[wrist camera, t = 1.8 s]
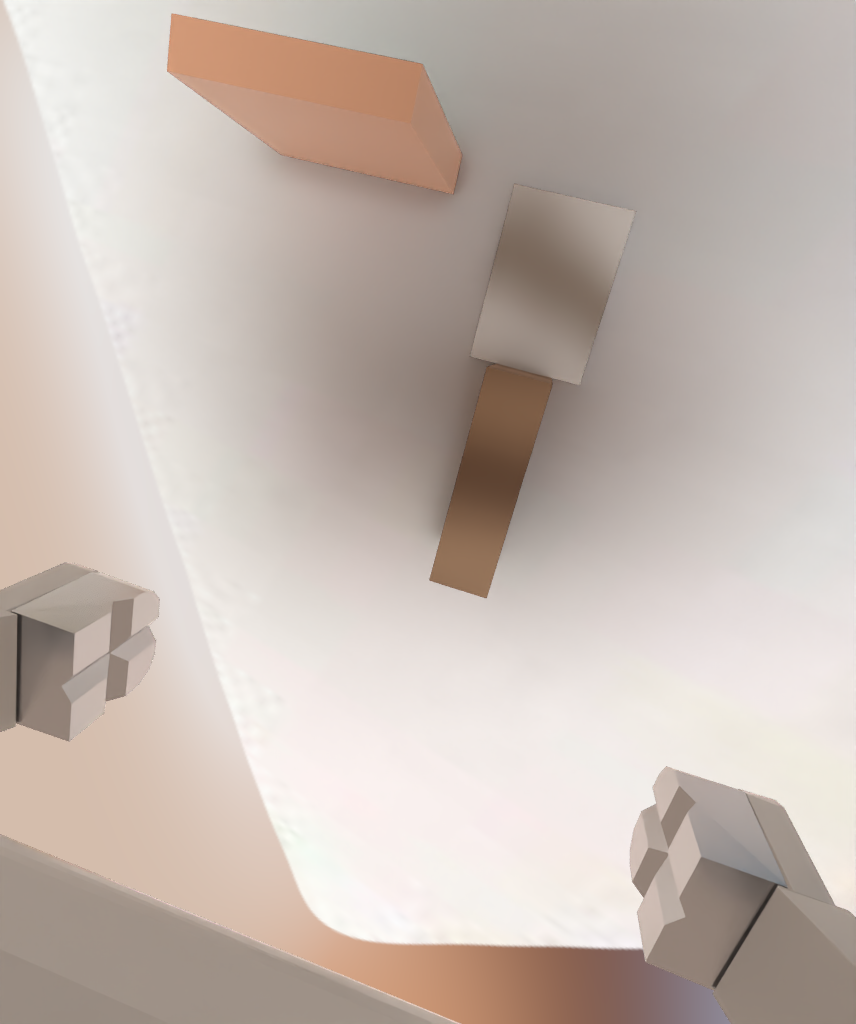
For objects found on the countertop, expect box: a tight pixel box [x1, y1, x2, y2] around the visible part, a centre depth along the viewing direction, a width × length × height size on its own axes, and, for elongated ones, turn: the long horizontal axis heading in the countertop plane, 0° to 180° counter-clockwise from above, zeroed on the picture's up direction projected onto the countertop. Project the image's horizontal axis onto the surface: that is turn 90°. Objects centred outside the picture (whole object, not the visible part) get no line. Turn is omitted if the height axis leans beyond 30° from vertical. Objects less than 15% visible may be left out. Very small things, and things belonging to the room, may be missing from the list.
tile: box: [167, 14, 462, 194], centre depth 21 cm, size 8×2×8 cm, turn 76°
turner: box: [430, 184, 636, 598], centre depth 23 cm, size 16×5×5 cm, turn 166°
